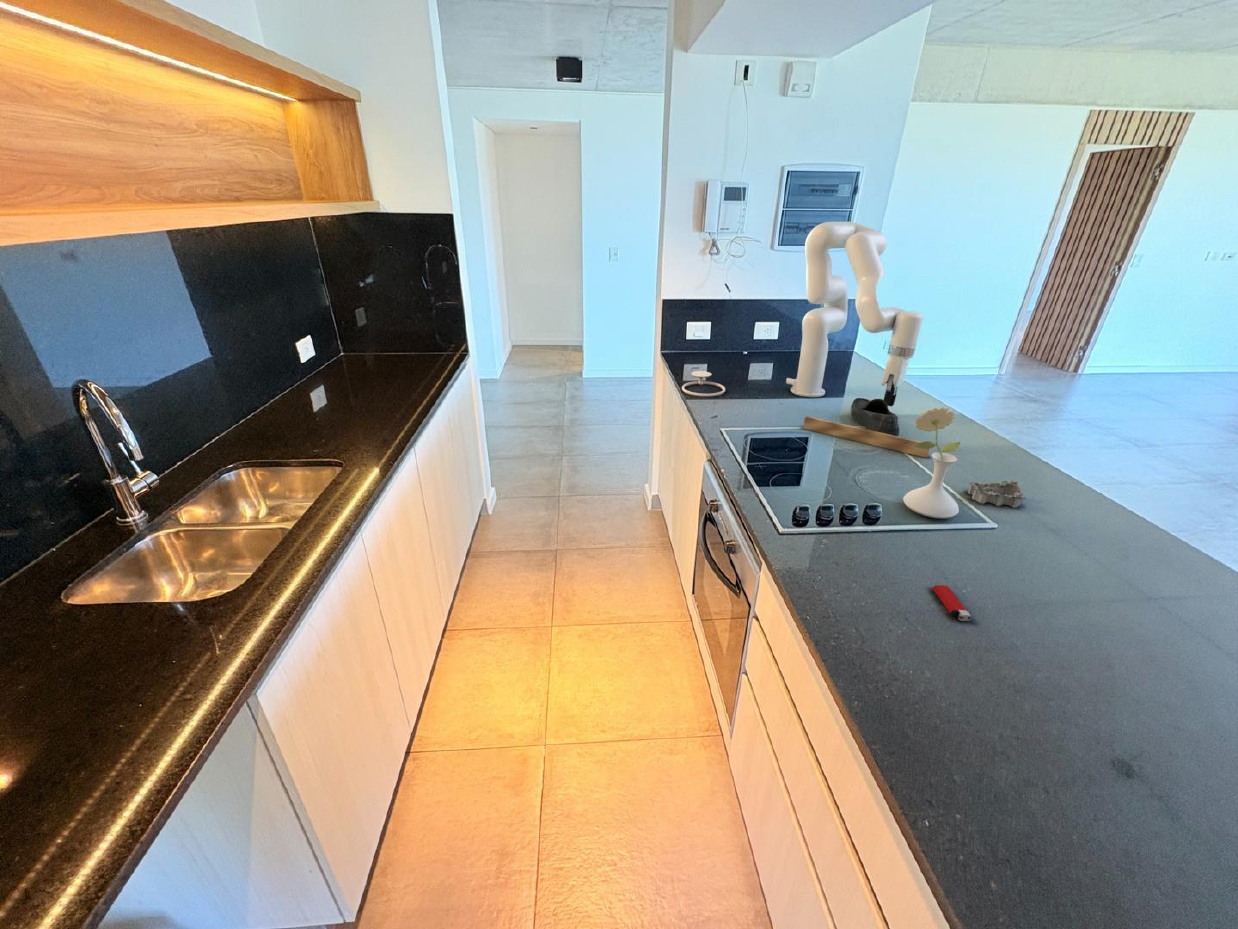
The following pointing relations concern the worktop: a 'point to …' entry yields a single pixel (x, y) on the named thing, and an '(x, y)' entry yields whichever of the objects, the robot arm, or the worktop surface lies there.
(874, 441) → the long wooden plank
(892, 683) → the worktop surface
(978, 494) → the egg carton
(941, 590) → the lighter
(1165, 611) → the worktop surface
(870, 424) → the loafer
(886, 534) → the worktop surface
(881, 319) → the robot arm
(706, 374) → the hand towel holder
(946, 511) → the flower in vase
